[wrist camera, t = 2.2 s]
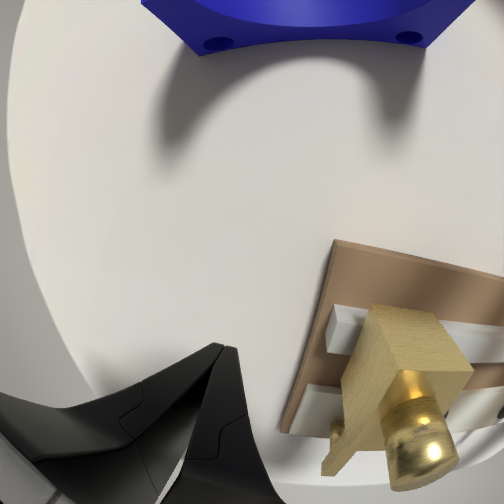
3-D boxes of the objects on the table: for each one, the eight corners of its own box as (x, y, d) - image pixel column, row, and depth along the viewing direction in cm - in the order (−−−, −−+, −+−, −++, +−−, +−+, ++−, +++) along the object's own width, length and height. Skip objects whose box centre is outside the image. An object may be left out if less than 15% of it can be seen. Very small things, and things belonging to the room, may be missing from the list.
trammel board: (562, 294, 9) (580, 307, 7) (496, 415, 13) (505, 433, 10) (334, 238, 12) (342, 256, 10) (281, 419, 16) (276, 450, 13)
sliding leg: (424, 302, 10) (505, 422, 3) (350, 441, 13) (351, 538, 6) (365, 293, 10) (422, 439, 3) (305, 437, 13) (293, 539, 7)
